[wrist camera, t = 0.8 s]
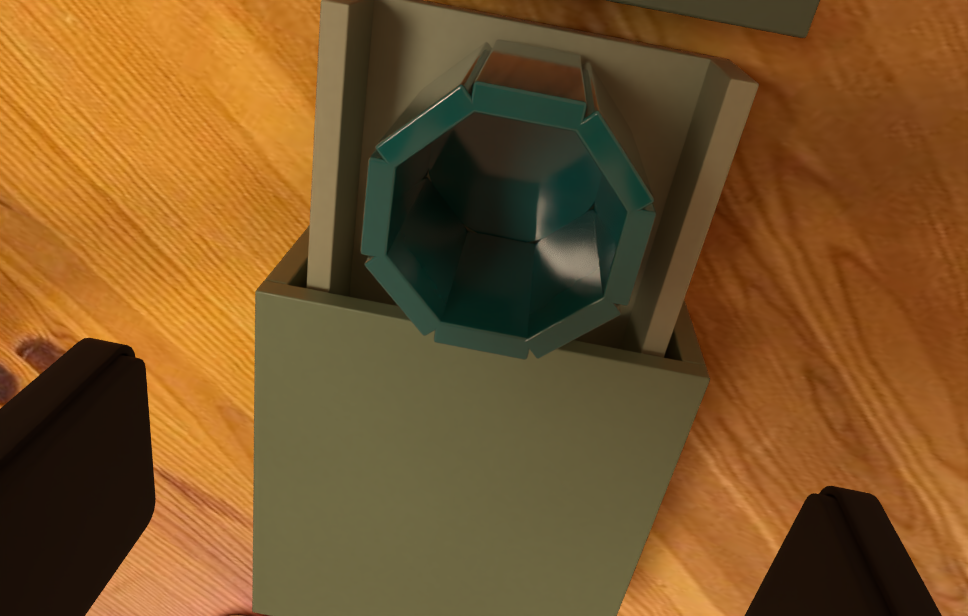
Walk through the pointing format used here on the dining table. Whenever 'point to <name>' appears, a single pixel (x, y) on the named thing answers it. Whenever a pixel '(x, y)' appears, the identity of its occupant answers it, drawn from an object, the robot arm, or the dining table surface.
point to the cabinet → (451, 462)
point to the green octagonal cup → (508, 203)
